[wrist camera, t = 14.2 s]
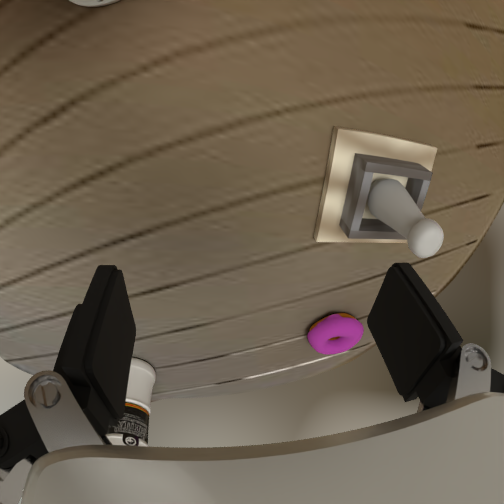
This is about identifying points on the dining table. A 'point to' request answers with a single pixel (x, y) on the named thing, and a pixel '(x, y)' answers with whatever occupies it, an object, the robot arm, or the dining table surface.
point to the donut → (335, 333)
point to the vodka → (135, 407)
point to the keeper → (368, 183)
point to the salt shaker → (404, 216)
